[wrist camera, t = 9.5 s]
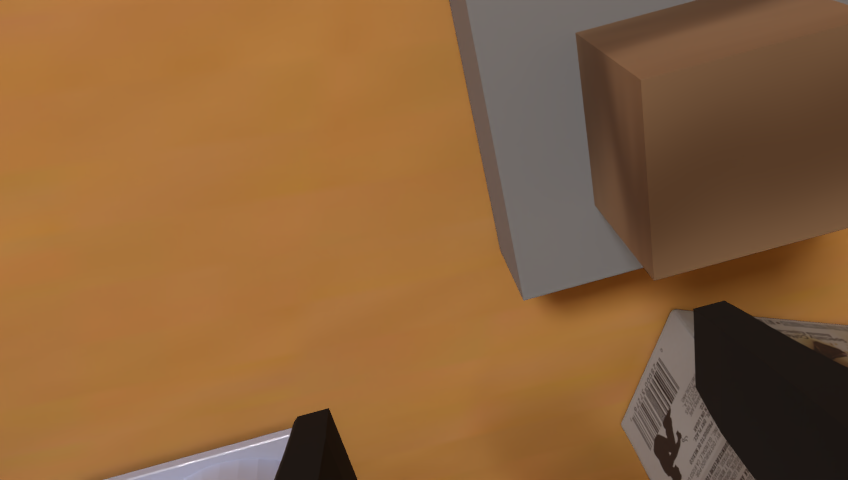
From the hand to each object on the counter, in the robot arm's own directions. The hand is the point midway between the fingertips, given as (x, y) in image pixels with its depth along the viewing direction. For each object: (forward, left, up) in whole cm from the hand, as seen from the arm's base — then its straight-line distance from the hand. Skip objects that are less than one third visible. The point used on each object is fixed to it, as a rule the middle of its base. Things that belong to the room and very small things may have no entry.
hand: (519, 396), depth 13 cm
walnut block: (+7, +2, -7) cm, 10 cm away
